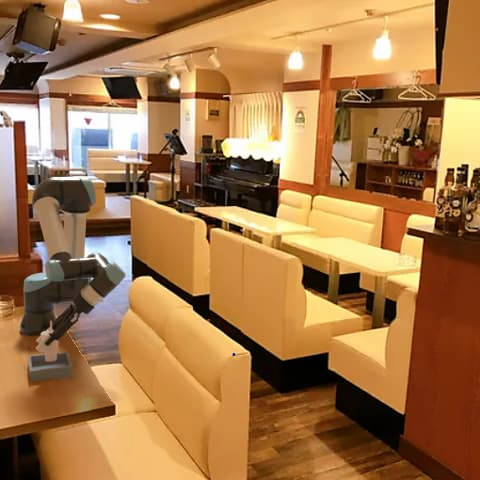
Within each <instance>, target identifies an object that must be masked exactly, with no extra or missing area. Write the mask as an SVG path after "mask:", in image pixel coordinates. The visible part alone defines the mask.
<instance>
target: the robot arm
mask: <svg viewBox="0 0 480 480" xmlns="http://www.w3.org/2000/svg"><path fill="white" fill-rule="evenodd" d="M96 202H97V193H96V189H95V185H94V183H93V181H92V180H91V179H90V178H89V177H83V176H63V177H62V176H51V177H47V178H45V179H43V180H42V181H41V182H39V184H38V185H36V187H35V189H34V191H33V193H32V199H31V204H32V209H33V211H34V212H35V213H36V214H37V216H38V217H37V218H38V220H39V221H38V222H39V224H40V229H41V232H42V235H43V240H44V244H45V247H46V251H47V255H48V258H49V260H47V261H46V262H45V266H44V267H45V272H38V273H33V274H31V275H28V276H27V277H26V278H25V279H24V281H23V289H22V290H23V309H24V312H23V316H22V318H21V321H20V325H19V331H20V333H21V334H24V335H26V336H33V337H34V336H39V337H38V338H37V339H36V343H38V345H37V346H36V347H35V349H36V351H38V352H39V353H40V354H44V351H45V350H46V349H47V348H48V347H49V346H50V345H51V344H52V343H53V342H54V341H55V340H57V341H58V340H59V341H60V340H61V338H62V337H63V336H64V335H65V334H66V333H67V332H68V331H69V330H70V329H71V328H72V327H73V326H74V325H75V324H76V323H77V322H79V318H80V315H81V314H82V313H83V314H85V315H89V314H90V313H91V312H92V311H93V310H94V309H95V306H98V305H99V303H103V302H104V299H105V298H106V297H108V295H109V294H110V293H111V292H113V290H115V288H116V287H118V286H119V285H120V284H121V282H122V281H123V280H124V279H125V278H126V273H125V271H124V270H123V269H122V268H121V267H120V266H119V265H118V264H117V263H116V262H114V261H110V262H109V260H108V259H107V258H106V256H104V255H103V254H102V253H100V252H92V253H90V254H88V255H87V256H86V257H85V252H86V251H85V250H86V248H85V247H86V228H87V225H86V224H87V215H88V214H90V212H91V207H94V206H95V205H96ZM59 208H60V211H61V212H62V213H63V214H64V215H63V217H64V218H63V219H64V220H63V222H62V219H61V218H62V217H61V215H60V212H59ZM66 303H69V306H68V307H67V308H66V309H65V310H64V311H63V312H62V313H61V314H60V315H58V317H57V316H56V313H55V307H54V306H55V305H57V304H60V305H61V304H66ZM50 321H52V330H54V332H53V333H52V334H51V333H49V335H48V336H47V337H46V338H45V339H44V340H43V341H42V337H41V333H42V332H44V331H49V330H50ZM59 341H58V342H59Z"/></svg>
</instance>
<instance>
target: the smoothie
mask: <svg viewBox="0 0 480 480" xmlns="http://www.w3.org/2000/svg"><path fill="white" fill-rule="evenodd" d="M53 332H54V330H52V321H50V330H49V331H44V332H42V333H41V335H40V336H41V337H42V341H43V340H44V339H45V338H46V337H47V336H48V335H49V333H51V334H52V333H53ZM59 341H60V339H59V340H58V341H57V340H55V341H54V342H53V343H52V344H51V345H50V346H49V347H48V348H47V349H46V350H45V351H44V352H43V354H44V355H45V361H48V362H52V361H55V360H57V353H58V349H59Z"/></svg>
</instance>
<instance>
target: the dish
mask: <svg viewBox="0 0 480 480" xmlns="http://www.w3.org/2000/svg"><path fill="white" fill-rule="evenodd" d="M27 358H28V359H27V360H28V374H29V381H30V382H34V381H35V382H37V381H45V380H55V379H56V380H57V379H63V378H70V377H71V378H72V377H73V365H72V361H71V358H70V353H69V352H68V351H64V352H57V360H55V361H52V362H48V361H45V355H44V353H40V354H32V355H31V354H30V355H28V357H27Z"/></svg>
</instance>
